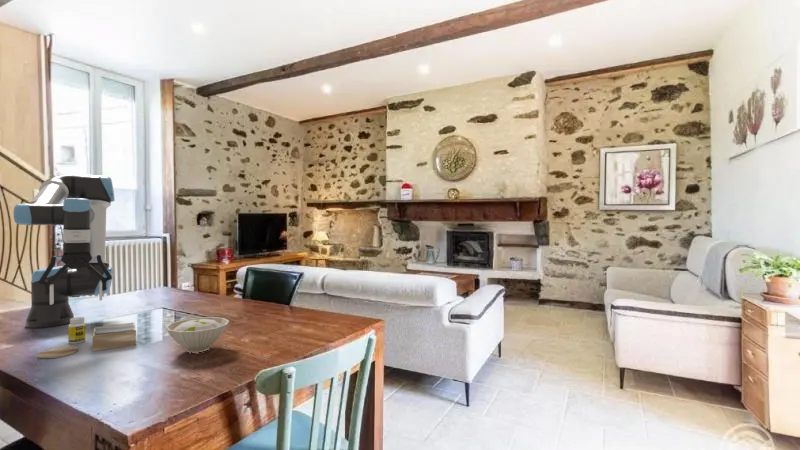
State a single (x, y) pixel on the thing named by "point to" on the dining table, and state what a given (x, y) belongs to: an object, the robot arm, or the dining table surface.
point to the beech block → (114, 336)
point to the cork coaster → (57, 352)
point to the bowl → (197, 332)
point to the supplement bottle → (76, 330)
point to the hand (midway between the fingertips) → (76, 301)
